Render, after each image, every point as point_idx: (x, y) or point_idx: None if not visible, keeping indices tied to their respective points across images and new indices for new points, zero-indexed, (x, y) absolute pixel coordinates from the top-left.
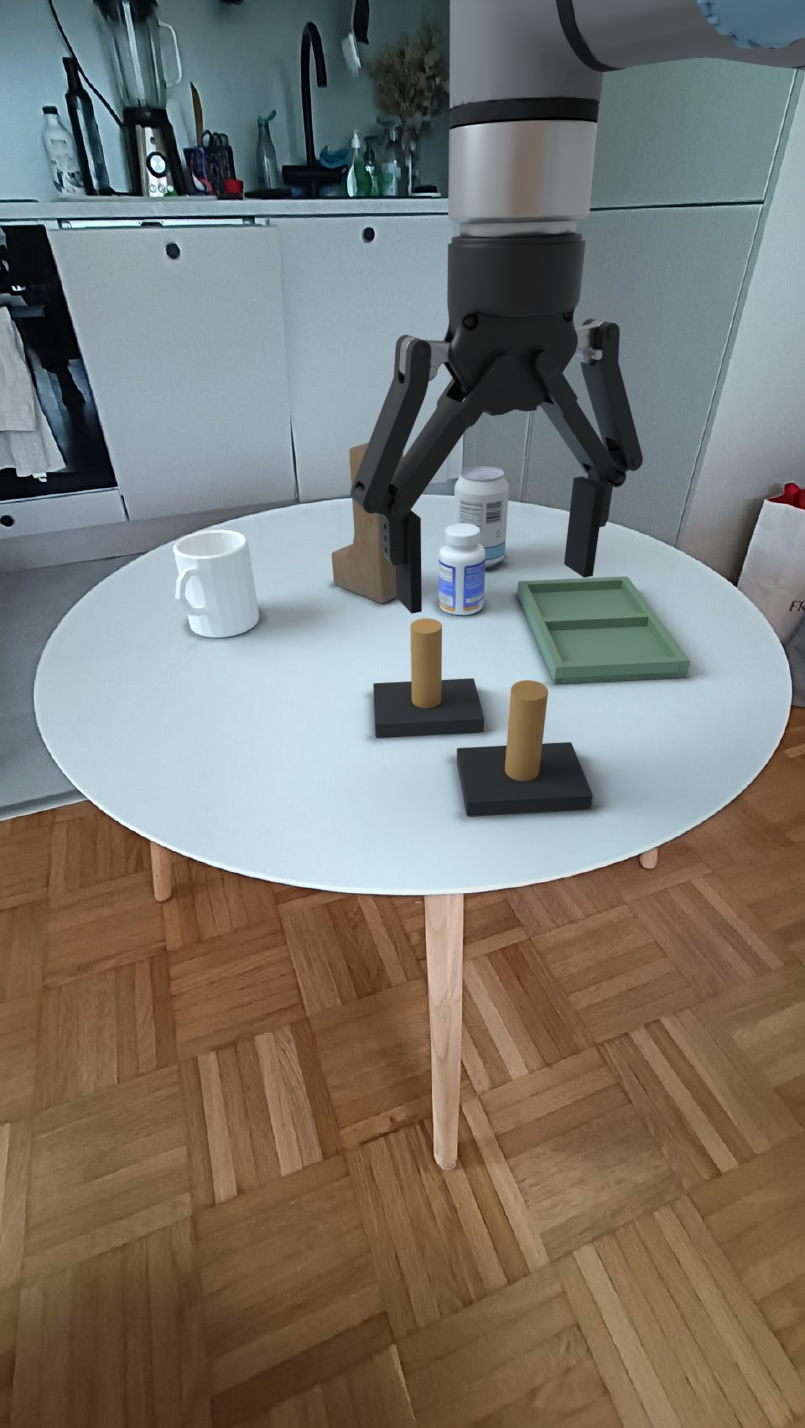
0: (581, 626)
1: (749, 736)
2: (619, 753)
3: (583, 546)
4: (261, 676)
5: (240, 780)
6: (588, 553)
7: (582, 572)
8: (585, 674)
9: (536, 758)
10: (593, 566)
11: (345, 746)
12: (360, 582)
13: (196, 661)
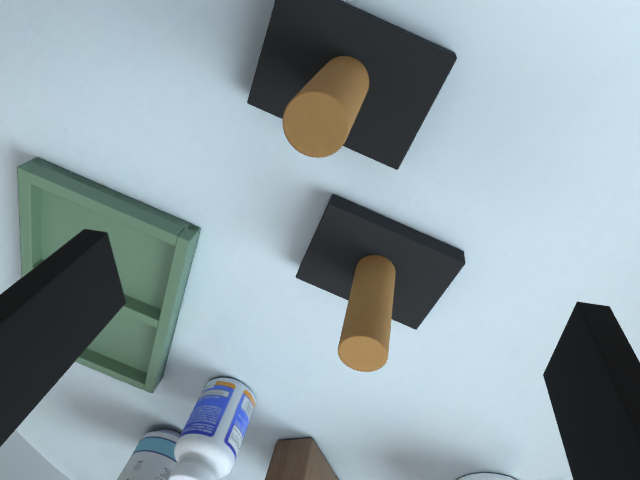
0: None
1: (6, 8)
2: (190, 66)
3: (61, 293)
4: (514, 406)
5: None
6: (60, 267)
7: (103, 245)
8: (157, 217)
9: (332, 63)
10: (68, 241)
11: (508, 256)
12: (323, 475)
13: (563, 460)
